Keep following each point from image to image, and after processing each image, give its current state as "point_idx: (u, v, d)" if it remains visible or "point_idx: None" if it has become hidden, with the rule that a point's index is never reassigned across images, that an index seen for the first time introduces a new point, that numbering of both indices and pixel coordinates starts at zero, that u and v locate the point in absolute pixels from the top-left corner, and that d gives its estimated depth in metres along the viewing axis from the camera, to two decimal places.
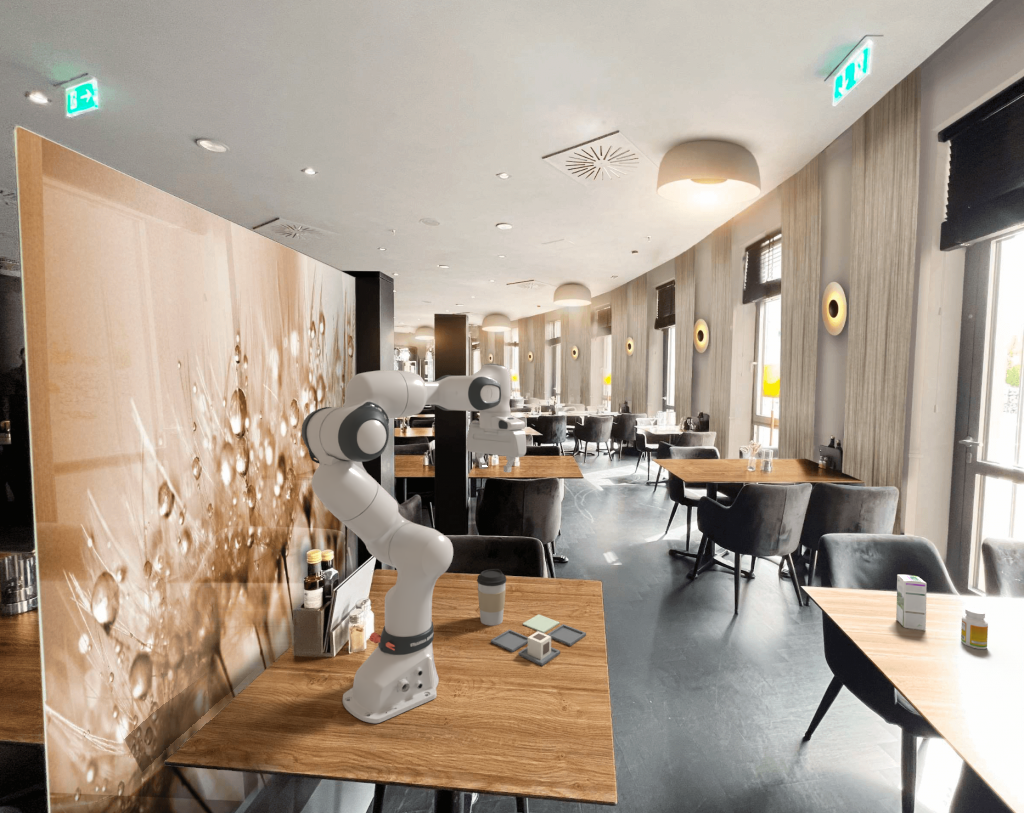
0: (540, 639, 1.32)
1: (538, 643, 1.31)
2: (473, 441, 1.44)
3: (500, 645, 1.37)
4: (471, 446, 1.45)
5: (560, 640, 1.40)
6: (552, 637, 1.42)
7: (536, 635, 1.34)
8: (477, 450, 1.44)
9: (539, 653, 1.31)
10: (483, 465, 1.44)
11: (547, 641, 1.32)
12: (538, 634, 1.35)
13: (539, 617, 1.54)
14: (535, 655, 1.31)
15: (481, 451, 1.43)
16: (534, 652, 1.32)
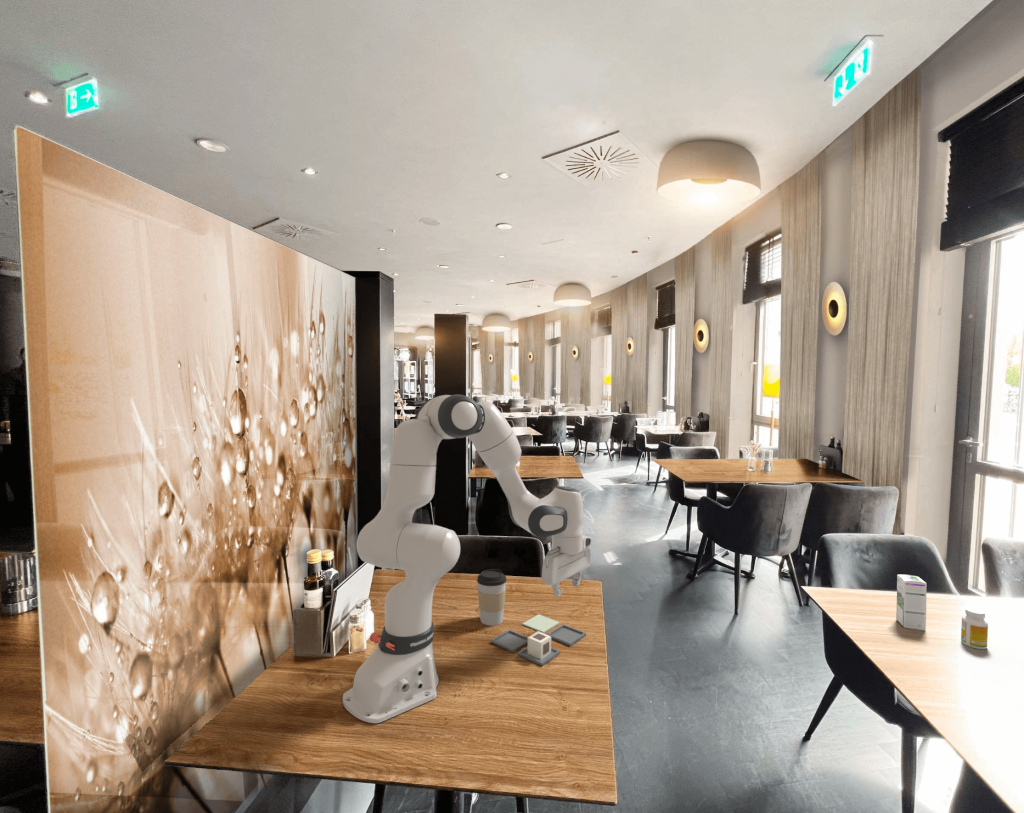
0: (540, 639, 1.32)
1: (538, 643, 1.31)
2: (558, 571, 1.36)
3: (500, 645, 1.37)
4: (556, 578, 1.36)
5: (560, 640, 1.40)
6: (552, 637, 1.42)
7: (536, 635, 1.34)
8: (561, 579, 1.38)
9: (539, 653, 1.31)
10: None
11: (547, 641, 1.32)
12: (538, 634, 1.35)
13: (539, 617, 1.54)
14: (535, 655, 1.31)
15: (565, 578, 1.39)
16: (534, 652, 1.32)
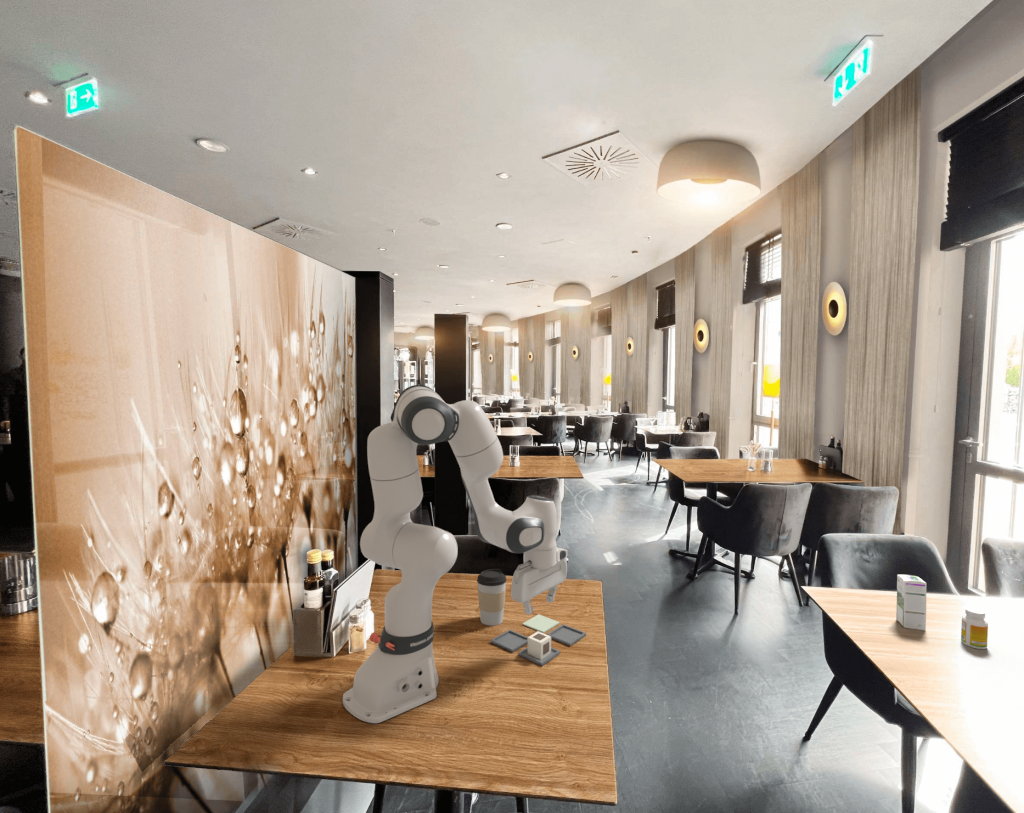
0: (540, 639, 1.32)
1: (538, 643, 1.31)
2: (529, 587, 1.26)
3: (500, 645, 1.37)
4: (526, 595, 1.26)
5: (560, 640, 1.40)
6: (552, 637, 1.42)
7: (536, 635, 1.34)
8: (533, 595, 1.28)
9: (539, 653, 1.31)
10: None
11: (547, 641, 1.32)
12: (538, 634, 1.35)
13: (539, 617, 1.54)
14: (535, 655, 1.31)
15: (536, 594, 1.29)
16: (534, 652, 1.32)
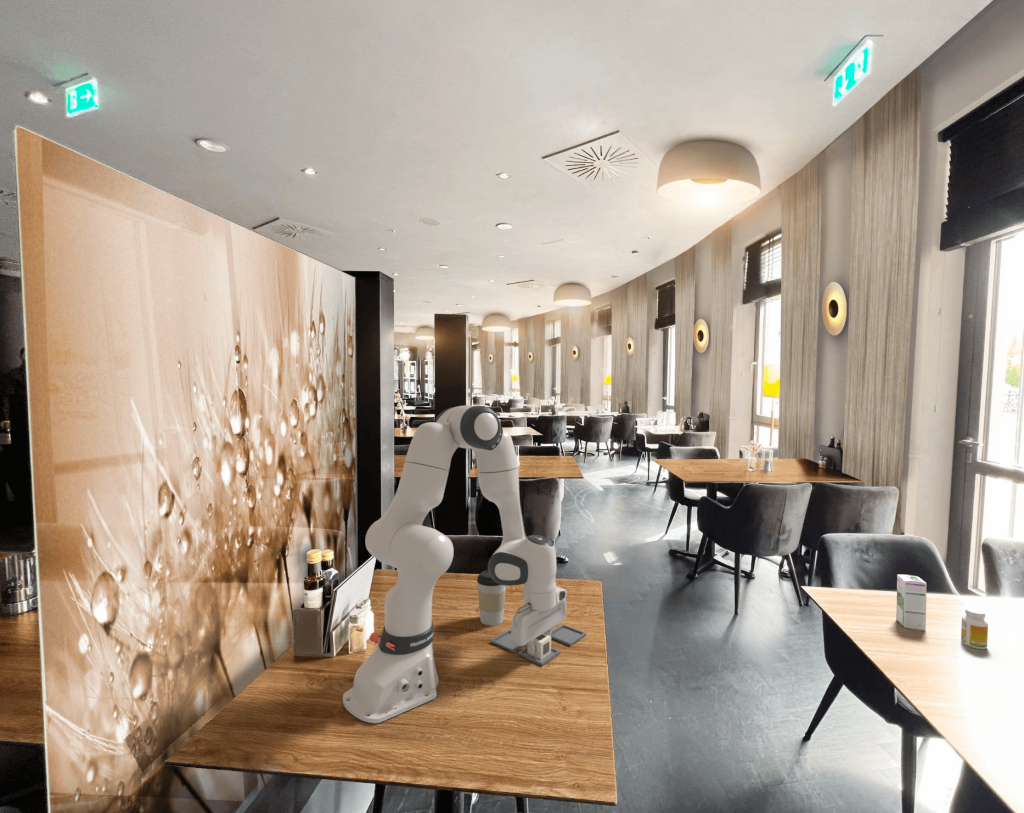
0: (540, 639, 1.32)
1: (538, 643, 1.31)
2: (529, 630, 1.27)
3: (500, 645, 1.37)
4: (526, 638, 1.26)
5: (560, 640, 1.40)
6: (552, 637, 1.42)
7: None
8: (532, 638, 1.28)
9: (539, 653, 1.31)
10: None
11: (547, 641, 1.32)
12: None
13: None
14: (535, 655, 1.31)
15: (536, 636, 1.29)
16: None
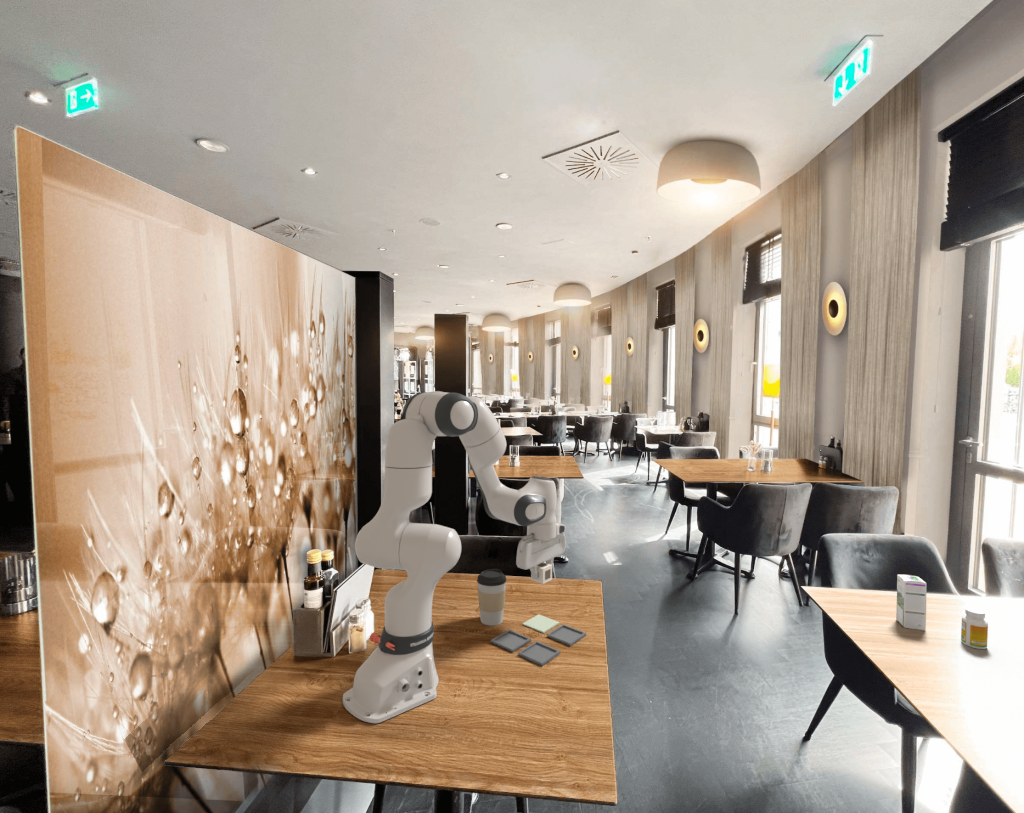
0: (542, 567, 1.48)
1: (540, 570, 1.47)
2: (532, 556, 1.43)
3: (500, 645, 1.37)
4: (530, 563, 1.43)
5: (560, 640, 1.40)
6: (552, 637, 1.42)
7: (539, 564, 1.50)
8: (535, 563, 1.45)
9: (541, 578, 1.47)
10: None
11: (549, 569, 1.49)
12: (541, 563, 1.51)
13: (539, 617, 1.54)
14: (538, 580, 1.48)
15: (538, 563, 1.46)
16: None
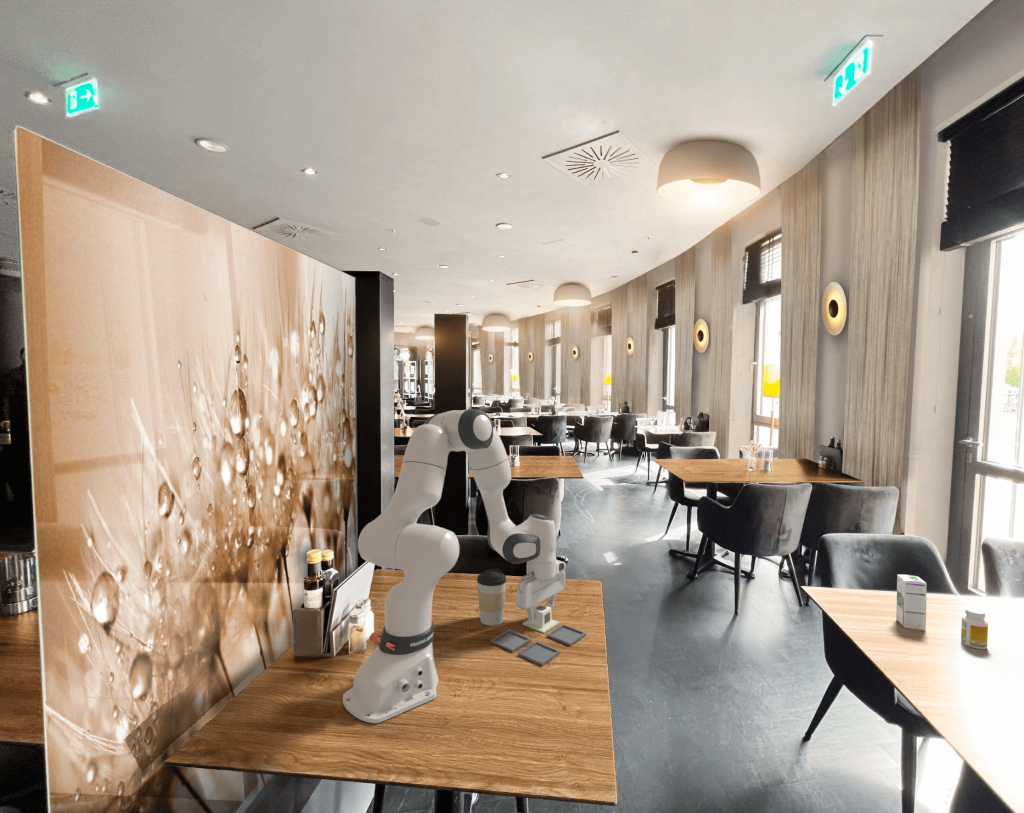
0: (542, 610, 1.49)
1: (540, 613, 1.48)
2: (532, 596, 1.44)
3: (500, 645, 1.37)
4: (529, 603, 1.43)
5: (560, 640, 1.40)
6: (552, 637, 1.42)
7: (538, 607, 1.51)
8: (535, 603, 1.45)
9: (541, 622, 1.48)
10: None
11: (548, 612, 1.50)
12: (540, 606, 1.52)
13: None
14: (537, 624, 1.48)
15: (538, 602, 1.46)
16: (536, 621, 1.49)
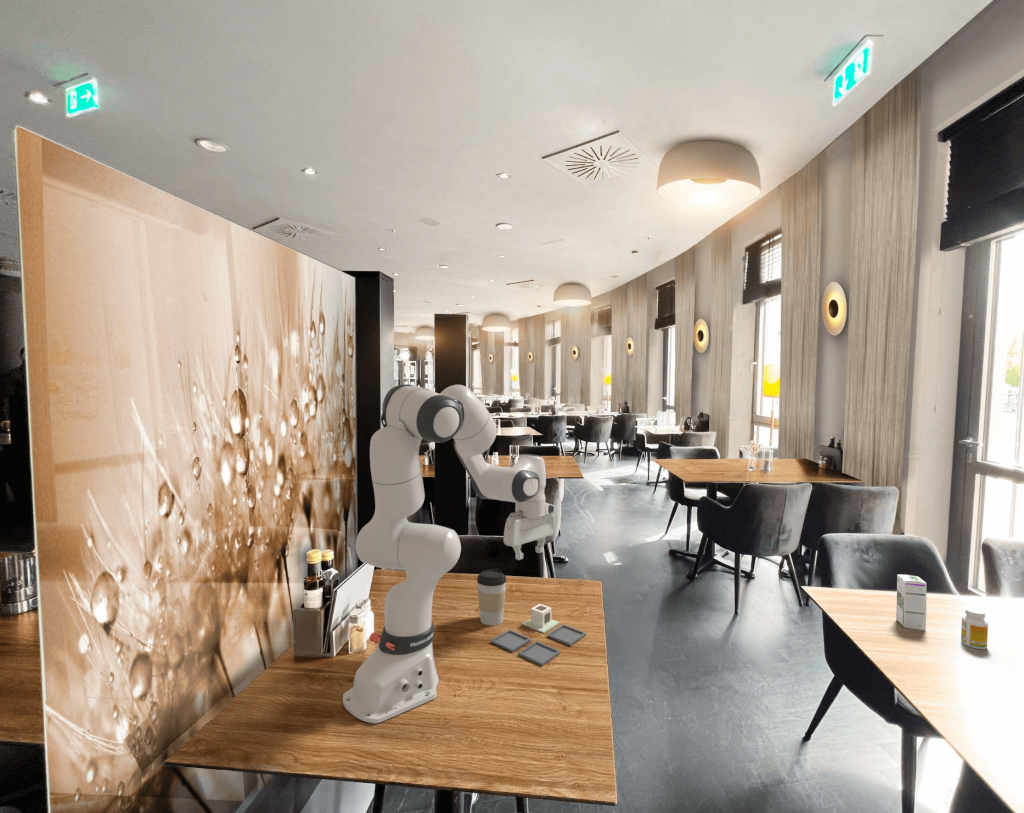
0: (542, 610, 1.49)
1: (540, 613, 1.48)
2: (520, 533, 1.41)
3: (500, 645, 1.37)
4: (517, 540, 1.40)
5: (560, 640, 1.40)
6: (552, 637, 1.42)
7: (538, 607, 1.51)
8: (523, 542, 1.42)
9: (541, 622, 1.48)
10: None
11: (548, 612, 1.50)
12: (540, 606, 1.52)
13: None
14: (537, 624, 1.48)
15: (526, 541, 1.43)
16: (536, 621, 1.49)
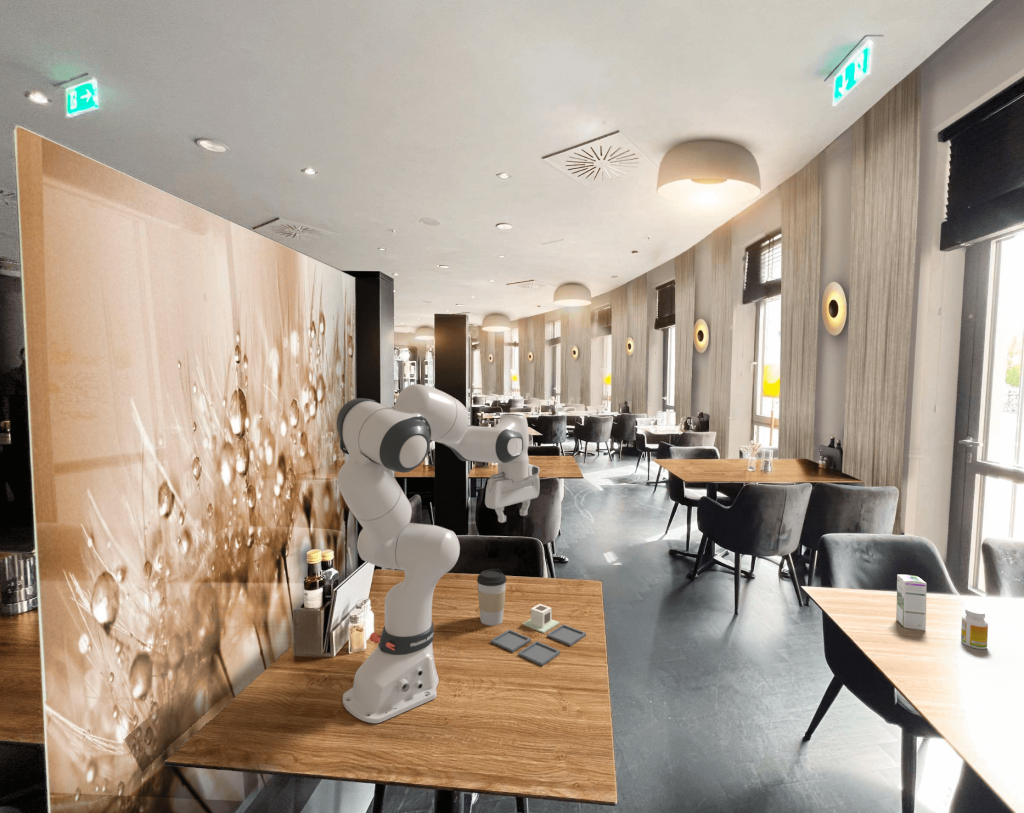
0: (542, 610, 1.49)
1: (540, 613, 1.48)
2: (502, 495, 1.36)
3: (500, 645, 1.37)
4: (499, 502, 1.35)
5: (560, 640, 1.40)
6: (552, 637, 1.42)
7: (538, 607, 1.51)
8: (505, 504, 1.37)
9: (541, 622, 1.48)
10: None
11: (548, 612, 1.50)
12: (540, 606, 1.52)
13: None
14: (537, 624, 1.48)
15: (509, 503, 1.38)
16: (536, 621, 1.49)
